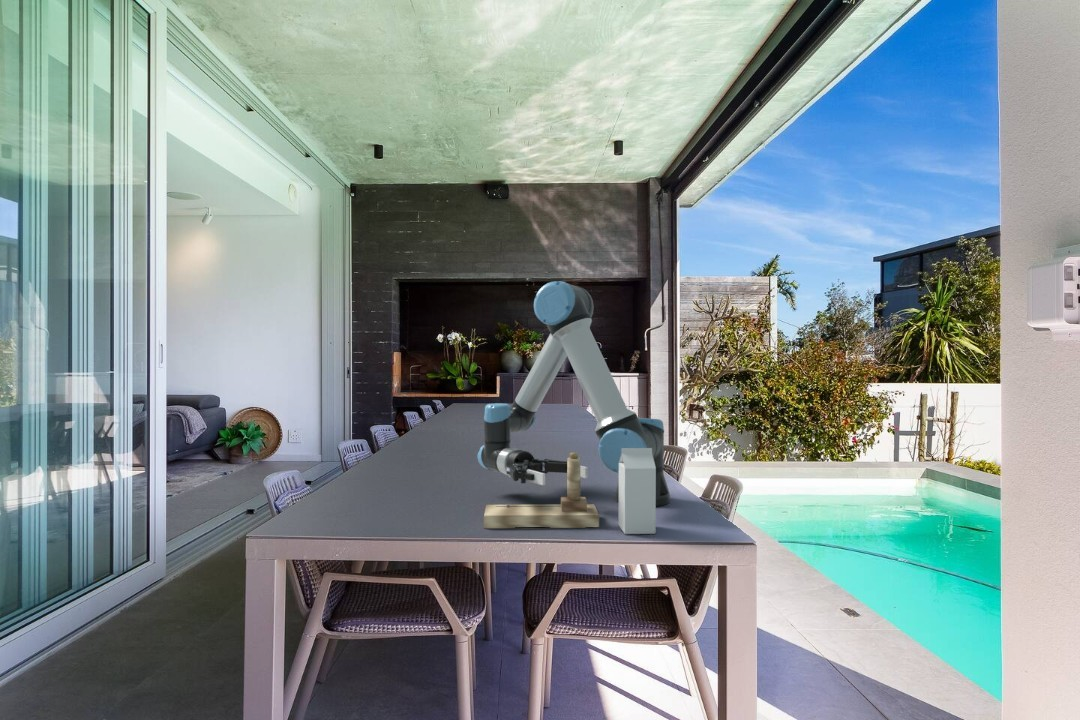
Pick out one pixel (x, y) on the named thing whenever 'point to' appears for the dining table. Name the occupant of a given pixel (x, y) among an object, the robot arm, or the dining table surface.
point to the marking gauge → (573, 487)
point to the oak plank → (538, 516)
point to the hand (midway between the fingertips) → (566, 476)
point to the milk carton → (637, 491)
